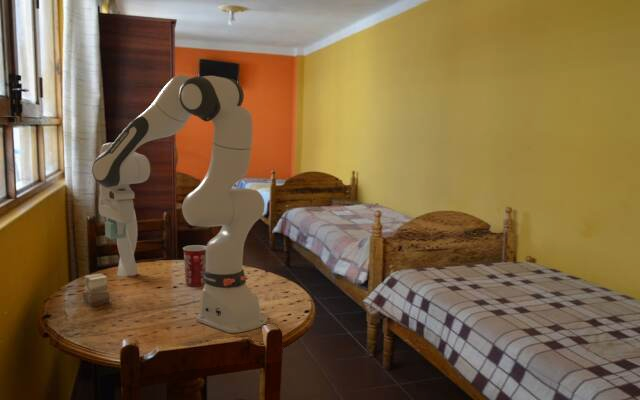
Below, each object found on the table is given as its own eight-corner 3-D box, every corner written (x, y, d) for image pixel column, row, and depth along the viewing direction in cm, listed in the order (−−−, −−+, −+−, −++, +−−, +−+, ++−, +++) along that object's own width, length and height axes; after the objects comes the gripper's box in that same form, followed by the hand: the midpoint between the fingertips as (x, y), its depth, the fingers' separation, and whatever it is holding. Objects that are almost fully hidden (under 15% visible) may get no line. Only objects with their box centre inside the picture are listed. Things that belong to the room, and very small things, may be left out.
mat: (119, 304, 159) (119, 302, 159) (87, 311, 152) (87, 309, 152) (104, 294, 168) (104, 292, 167) (73, 301, 161) (73, 299, 160)
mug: (183, 280, 186) (183, 244, 184) (208, 279, 189) (208, 244, 187) (182, 291, 174) (182, 253, 172) (208, 290, 176) (209, 253, 174)
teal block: (126, 237, 168) (125, 222, 167) (110, 239, 164) (110, 224, 164) (120, 234, 171) (119, 220, 171) (105, 236, 168) (104, 221, 167)
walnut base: (109, 301, 160) (109, 292, 159) (90, 305, 156) (89, 296, 155) (102, 296, 164) (101, 287, 163) (83, 300, 160) (82, 291, 159)
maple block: (107, 292, 159) (107, 277, 159) (91, 295, 156) (90, 279, 155) (101, 288, 163) (100, 273, 162) (85, 291, 159) (84, 276, 159)
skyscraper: (127, 279, 185) (126, 204, 181) (111, 276, 188) (110, 202, 184) (142, 273, 192) (141, 201, 188) (126, 271, 195) (125, 200, 191)
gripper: (93, 188, 171) (94, 228, 173) (117, 195, 156) (118, 238, 158) (111, 187, 175) (112, 226, 177) (137, 194, 161) (137, 236, 163)
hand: (115, 232), depth 168 cm, fingers closed on teal block, 5 cm apart
